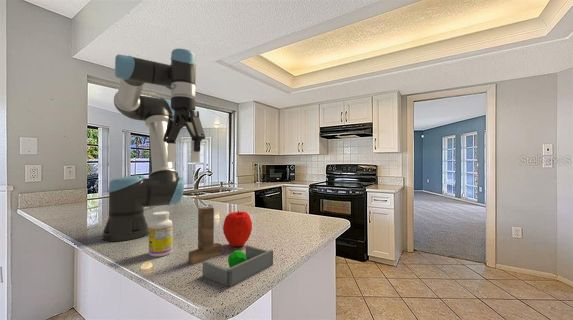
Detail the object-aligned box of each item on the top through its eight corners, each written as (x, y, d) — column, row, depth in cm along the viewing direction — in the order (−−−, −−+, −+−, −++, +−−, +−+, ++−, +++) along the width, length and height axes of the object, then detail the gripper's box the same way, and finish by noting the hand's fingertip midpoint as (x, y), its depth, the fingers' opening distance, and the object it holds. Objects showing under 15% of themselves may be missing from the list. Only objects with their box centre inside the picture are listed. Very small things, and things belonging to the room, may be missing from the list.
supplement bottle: (150, 251, 81) (150, 211, 81) (172, 248, 83) (173, 210, 84) (147, 258, 75) (147, 215, 75) (171, 255, 77) (172, 213, 77)
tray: (202, 275, 64) (202, 259, 64) (247, 256, 77) (247, 243, 77) (229, 287, 58) (229, 269, 58) (272, 264, 71) (273, 250, 71)
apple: (236, 253, 80) (236, 214, 80) (216, 246, 86) (216, 210, 86) (257, 244, 88) (258, 209, 88) (238, 239, 94) (238, 206, 94)
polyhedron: (226, 267, 69) (226, 249, 69) (243, 264, 71) (244, 247, 71) (230, 274, 64) (230, 255, 65) (248, 271, 66) (248, 253, 67)
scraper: (187, 262, 72) (188, 210, 73) (215, 252, 81) (216, 205, 81) (194, 264, 71) (194, 211, 71) (222, 254, 79) (222, 206, 79)
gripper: (152, 101, 87) (152, 162, 87) (196, 89, 73) (195, 162, 72) (173, 105, 93) (172, 162, 93) (217, 94, 79) (216, 162, 79)
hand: (182, 162), depth 83 cm, fingers open, 13 cm apart
